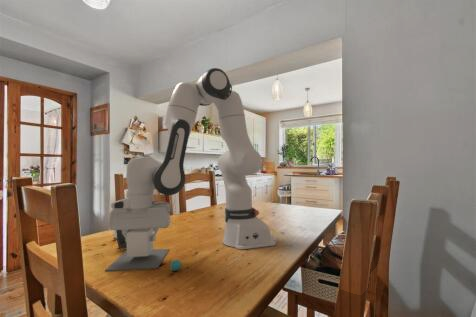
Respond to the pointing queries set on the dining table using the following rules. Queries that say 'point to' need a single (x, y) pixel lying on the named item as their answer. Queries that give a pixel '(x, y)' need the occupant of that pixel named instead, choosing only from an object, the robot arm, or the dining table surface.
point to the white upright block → (139, 242)
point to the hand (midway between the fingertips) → (140, 241)
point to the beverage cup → (121, 238)
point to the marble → (175, 265)
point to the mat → (139, 261)
